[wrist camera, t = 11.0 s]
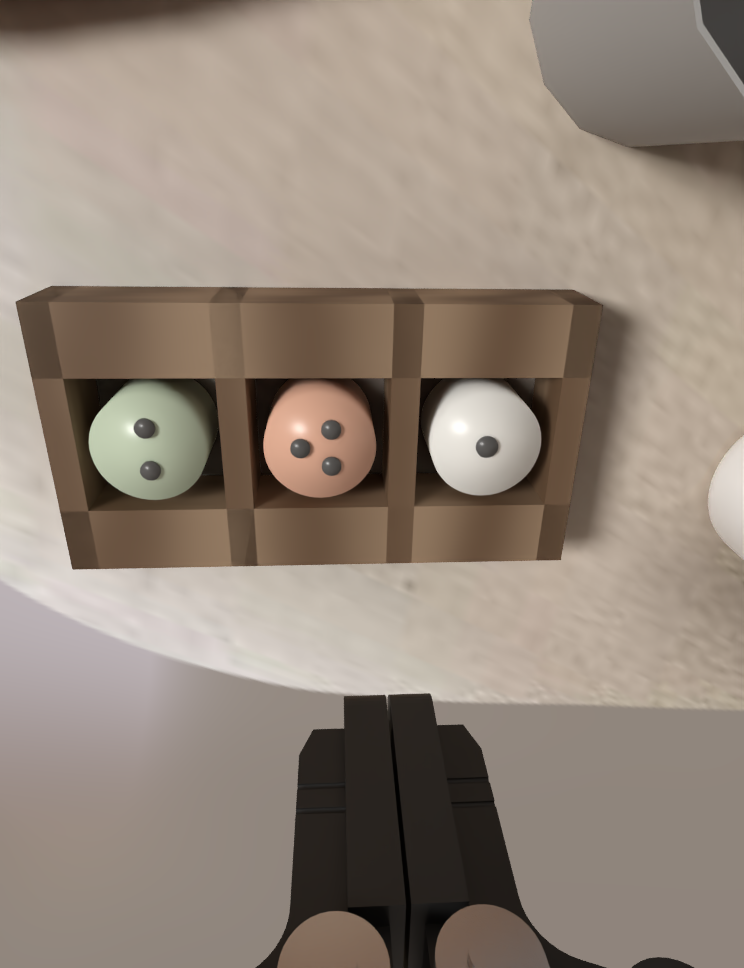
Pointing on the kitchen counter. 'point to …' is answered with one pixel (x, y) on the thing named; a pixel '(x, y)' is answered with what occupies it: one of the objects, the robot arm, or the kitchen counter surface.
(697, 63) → the cup
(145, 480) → the button two
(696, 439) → the kitchen counter surface
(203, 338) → the wooden compartment tray
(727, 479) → the water bottle
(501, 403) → the button one
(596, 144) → the kitchen counter surface
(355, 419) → the button three
